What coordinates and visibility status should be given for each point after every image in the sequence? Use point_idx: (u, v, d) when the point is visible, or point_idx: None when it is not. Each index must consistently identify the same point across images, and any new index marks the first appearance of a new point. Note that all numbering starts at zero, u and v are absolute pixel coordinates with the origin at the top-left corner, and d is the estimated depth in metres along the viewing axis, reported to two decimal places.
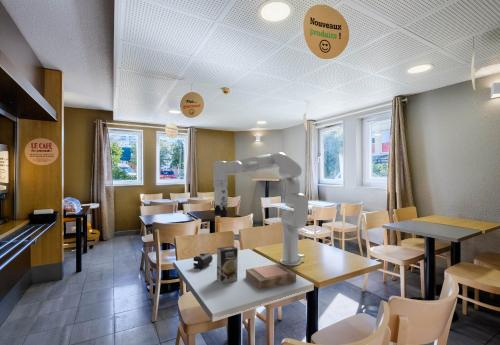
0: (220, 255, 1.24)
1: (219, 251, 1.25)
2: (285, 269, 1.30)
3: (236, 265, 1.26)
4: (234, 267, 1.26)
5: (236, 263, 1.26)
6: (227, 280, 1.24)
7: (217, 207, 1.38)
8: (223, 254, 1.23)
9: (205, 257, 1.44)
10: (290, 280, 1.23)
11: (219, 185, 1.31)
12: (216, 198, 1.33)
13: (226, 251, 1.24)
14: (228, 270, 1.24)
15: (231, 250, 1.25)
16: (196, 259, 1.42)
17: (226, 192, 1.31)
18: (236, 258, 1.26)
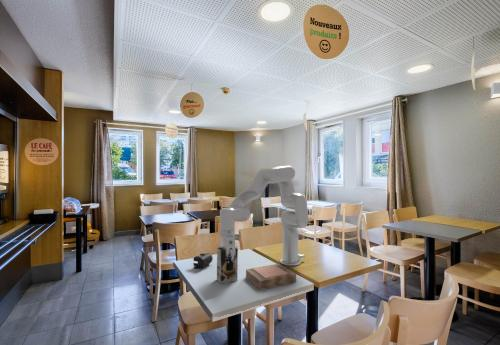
0: (220, 255, 1.23)
1: (219, 251, 1.25)
2: (285, 269, 1.30)
3: (236, 265, 1.26)
4: (234, 267, 1.26)
5: (236, 262, 1.26)
6: (227, 280, 1.24)
7: None
8: (223, 254, 1.23)
9: (205, 257, 1.44)
10: (290, 280, 1.23)
11: (226, 235, 1.24)
12: (223, 248, 1.26)
13: None
14: None
15: None
16: (196, 259, 1.42)
17: (233, 242, 1.24)
18: (236, 258, 1.26)
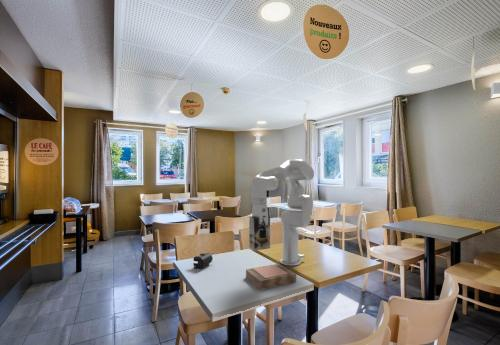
0: (253, 223, 1.24)
1: (252, 219, 1.26)
2: (285, 269, 1.30)
3: (269, 233, 1.27)
4: (267, 235, 1.26)
5: (268, 231, 1.27)
6: (260, 247, 1.25)
7: None
8: (257, 222, 1.24)
9: (205, 257, 1.44)
10: (290, 280, 1.23)
11: (259, 203, 1.24)
12: (255, 216, 1.27)
13: None
14: None
15: None
16: (196, 259, 1.42)
17: (266, 210, 1.24)
18: (268, 226, 1.27)
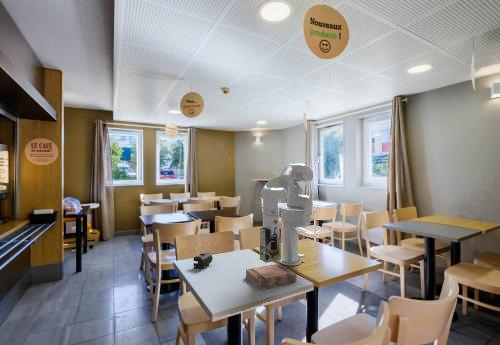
0: (264, 234, 1.24)
1: (263, 231, 1.25)
2: (285, 269, 1.30)
3: (279, 245, 1.27)
4: (278, 247, 1.26)
5: (279, 242, 1.27)
6: (271, 259, 1.24)
7: None
8: (268, 234, 1.24)
9: (205, 257, 1.44)
10: (290, 280, 1.23)
11: (270, 215, 1.24)
12: (266, 228, 1.26)
13: None
14: None
15: None
16: (196, 259, 1.42)
17: (278, 222, 1.24)
18: (279, 238, 1.27)
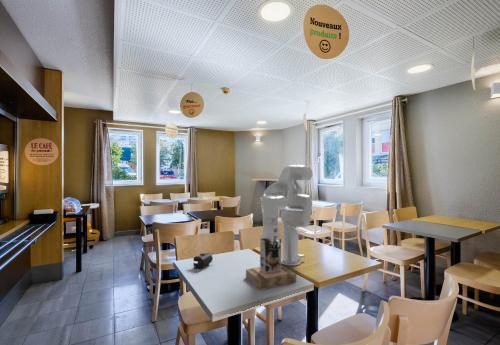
0: (264, 245, 1.25)
1: (263, 242, 1.26)
2: (285, 269, 1.30)
3: (280, 256, 1.27)
4: (278, 257, 1.26)
5: (279, 253, 1.27)
6: (271, 270, 1.24)
7: None
8: (268, 245, 1.24)
9: (205, 257, 1.44)
10: (290, 280, 1.23)
11: (270, 223, 1.24)
12: (266, 236, 1.26)
13: None
14: (272, 260, 1.25)
15: None
16: (196, 259, 1.42)
17: (278, 230, 1.24)
18: (279, 249, 1.27)
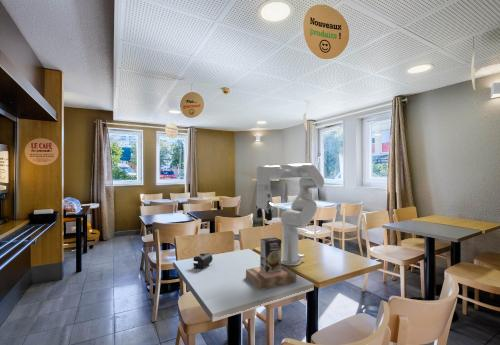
0: (264, 246, 1.24)
1: (263, 242, 1.26)
2: (285, 269, 1.30)
3: (280, 256, 1.27)
4: (278, 258, 1.26)
5: (280, 254, 1.27)
6: (271, 271, 1.24)
7: (259, 210, 1.42)
8: (268, 245, 1.24)
9: (205, 257, 1.44)
10: (290, 280, 1.23)
11: (264, 189, 1.35)
12: (260, 202, 1.37)
13: (270, 242, 1.24)
14: (272, 260, 1.24)
15: (275, 241, 1.26)
16: (196, 259, 1.42)
17: (271, 196, 1.35)
18: (280, 249, 1.27)
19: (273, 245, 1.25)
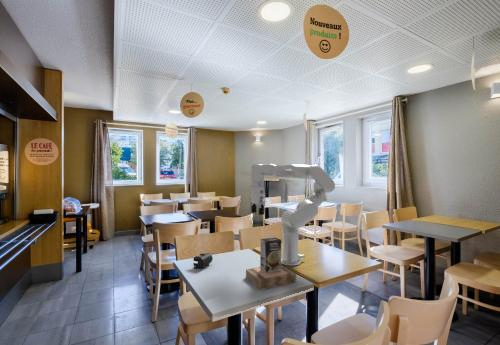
0: (265, 246, 1.24)
1: (263, 242, 1.26)
2: (285, 269, 1.30)
3: (280, 256, 1.27)
4: (278, 258, 1.26)
5: (280, 254, 1.27)
6: (271, 271, 1.24)
7: (253, 205, 1.54)
8: (268, 245, 1.24)
9: (205, 257, 1.44)
10: (290, 280, 1.23)
11: (257, 186, 1.46)
12: (254, 197, 1.48)
13: (270, 242, 1.24)
14: (272, 260, 1.24)
15: (275, 241, 1.26)
16: (196, 259, 1.42)
17: (263, 192, 1.46)
18: (280, 249, 1.27)
19: (273, 245, 1.25)
